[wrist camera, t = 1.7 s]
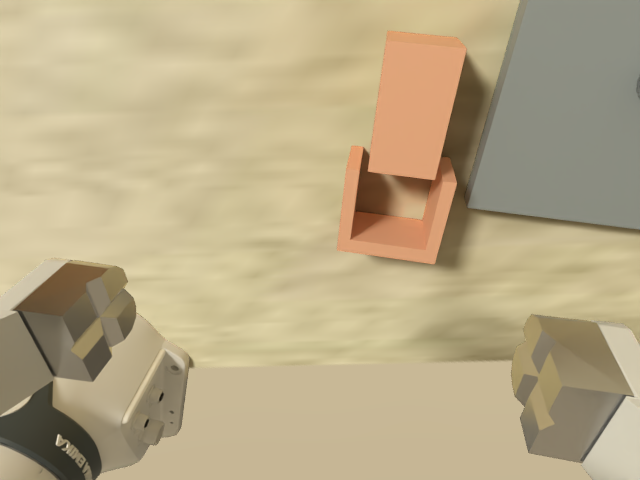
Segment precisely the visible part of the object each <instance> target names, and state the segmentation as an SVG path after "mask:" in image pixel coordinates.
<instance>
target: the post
mask: <svg viewBox="0 0 640 480" xmlns="http://www.w3.org/2000/svg"><path fill="white" fill-rule="evenodd" d="M636 92H637V95H638V96H639V98H640V76H639V78H638V80H637V83H636Z"/></svg>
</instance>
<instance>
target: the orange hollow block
mask: <svg viewBox="0 0 640 480" xmlns="http://www.w3.org/2000/svg"><path fill="white" fill-rule="evenodd" d="M466 50H467V48H466V47H465V46H464V45H463V44H462V43H461V42H460V40H459V39H458V38H455V37H445V36H435V35H425V34H415V33H404V32H394V31H388V33H387V40H386V47H385V53H384V60H383V67H382V74H381V81H380V88H379V95H378V102H377V109H376V116H375V123H374V130H373V136H372V143H371V151H370V158H369V165H368V172H374V173H382V174H390V175H398V176H406V177H414V178H421V179H429V180H432V182H431V186H430V191H429V195H428V199H427V203H426V207H425V211H424V216H423V220H418V219H410V218H403V217H396V216H388V215H381V214H374V213H366V212H359V211H355V207H356V199H357V192H358V184H359V177H360V170H361V162H362V155H363V147H359V146H352V147H351V151H350V155H349V159H348V164H347V168H346V175H345V184H344V193H343V201H342V210H341V219H340V228H339V237H338V245H337V250H338V251H345V252H352V253H359V254H366V255H373V256H380V257H387V258H394V259H401V260H408V261H415V262H422V263H429V264H435V261H436V258H437V254H438V250H439V247H440V243H441V240H442V236H443V232H444V229H445V225H446V222H447V218H448V214H449V211H450V207H451V203H452V200H453V196H454V193H455V189H456V185H457V181H456V177H455V174H454V170H453V167H452V164H451V160H450V158H449V157H441V153H442V149H443V145H444V141H445V137H446V133H447V128H448V124H449V120H450V116H451V112H452V108H453V104H454V100H455V96H456V91H457V87H458V83H459V79H460V75H461V71H462V67H463V63H464V59H465V54H466Z"/></svg>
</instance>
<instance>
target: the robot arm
mask: <svg viewBox="0 0 640 480" xmlns="http://www.w3.org/2000/svg"><path fill="white" fill-rule="evenodd" d="M127 283H128V280H127V278H126V275H125V272H124V270H123V269H122V268H119V267H117V266H113V265H106V264H99V263H92V262H84V261H77V260H74V261H73V260H67V259H60V258H51V259H47V260H44V261H43V262H42V263H41V264H40V265H38V266H37V267H36V268H35V269H33V270H32V271H31V272H30V273H28V274H27V275H26V276H25V277H24V278H22V279H21V280H20V281H19V282H17V283H16V284H15V285H14V286H13V287H11V288H10V289H9V290H8V291H6V292H5V293H4V294H3V295H1V296H0V480H95V479H96V478H97V477H98V476H99V475H100V473H103V472H107V471H111V470H115V469H119V468H123V467H127V466H131V465H133V464H135V463H137V462H138V461H140V460H141V458H142V457H143V456H144V454H145V452H146V450H147V449H148V447H149V445H157V444H158V442H159V441H160V438H161V437H170V436H174V435H176V434H177V433H178V432H179V430H180V428H181V425H182V417H183V410H184V402H185V394H186V387H187V379H188V371H189V361H190V358H189V355H188V354H187V353H186V352H185V351H184V350H183V349H181V348H180V347H178V346H177V345H175V344H173V343H172V342H170V341H168V340H166V339H165V338H164V337H163V336H162V335H160V334H159V333H158V331H157V330H156V329H155V328H154V327H153V326H152V325H151V324H150V323H149V322H147V321H146V320H145V319H144V318H143V317H141V316H140V315H139V314H137V313H136V305H135V301H134V298H133V297H132V296H131V295H130V294H129V293H128V292H127V291H126V290H125V289H124V288H125V286H126V284H127ZM523 331H524V335H525V338H526V341H525V342H523V343H522V344H520V345H518V346H517V347H516V350H515V353H514V356H513V359H512V370H511V377H512V385H513V390H514V395H515V397H516V398H517V399H518V400H519V401H520V402H521V403H522V404H523V405H524V407H525V408H524V410H523V412H522V415H521V417H520V420H521V424H522V428H523V432H524V436H525V440H526V444H527V449H528V452H529V453H531V454H536V455H542V456H547V457H552V458H558V459H563V460H568V461H574V462H579V463H582V465H581V466H582V467H583V468H584V470H585V471H586V472H587V473H588V475H589V476H590V477H591V478H592V480H640V345H639V343H638V341H637V340H636V338H635V336H634V335H633V333H632V331H631V330H630V328H629V327H627V326H626V325H624V324H622V323H612V322H602V321H587V320H578V319H569V318H560V317H551V316H541V315H531V316H530V317H529V318H528V319H527V321H526V323H525V326H524V328H523Z"/></svg>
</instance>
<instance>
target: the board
mask: <svg viewBox="0 0 640 480" xmlns="http://www.w3.org/2000/svg"><path fill="white" fill-rule="evenodd" d="M639 76H640V0H520V4H519V7H518V11H517V14H516V18H515V21H514V25H513V28H512V32H511V35H510V39H509V42H508V46H507V49H506V53H505V56H504V60H503V63H502V67H501V70H500V74H499V77H498V81H497V84H496V88H495V91H494V95H493V98H492V102H491V105H490V109H489V112H488V116H487V119H486V123H485V126H484V130H483V133H482V137H481V140H480V144H479V147H478V151H477V154H476V158H475V161H474V165H473V168H472V172H471V175H470V179H469V182H468V186H467V189H466V193H465V196H464V199H465V202H466V206H467V208H473V209H481V210H489V211H497V212H504V213H512V214H520V215H528V216H536V217H544V218H552V219H560V220H568V221H576V222H584V223H592V224H600V225H608V226H616V227H623V228H631V229H639V230H640V98H639V96H638V95H637V92H636V83H637V80H638V78H639Z"/></svg>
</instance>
